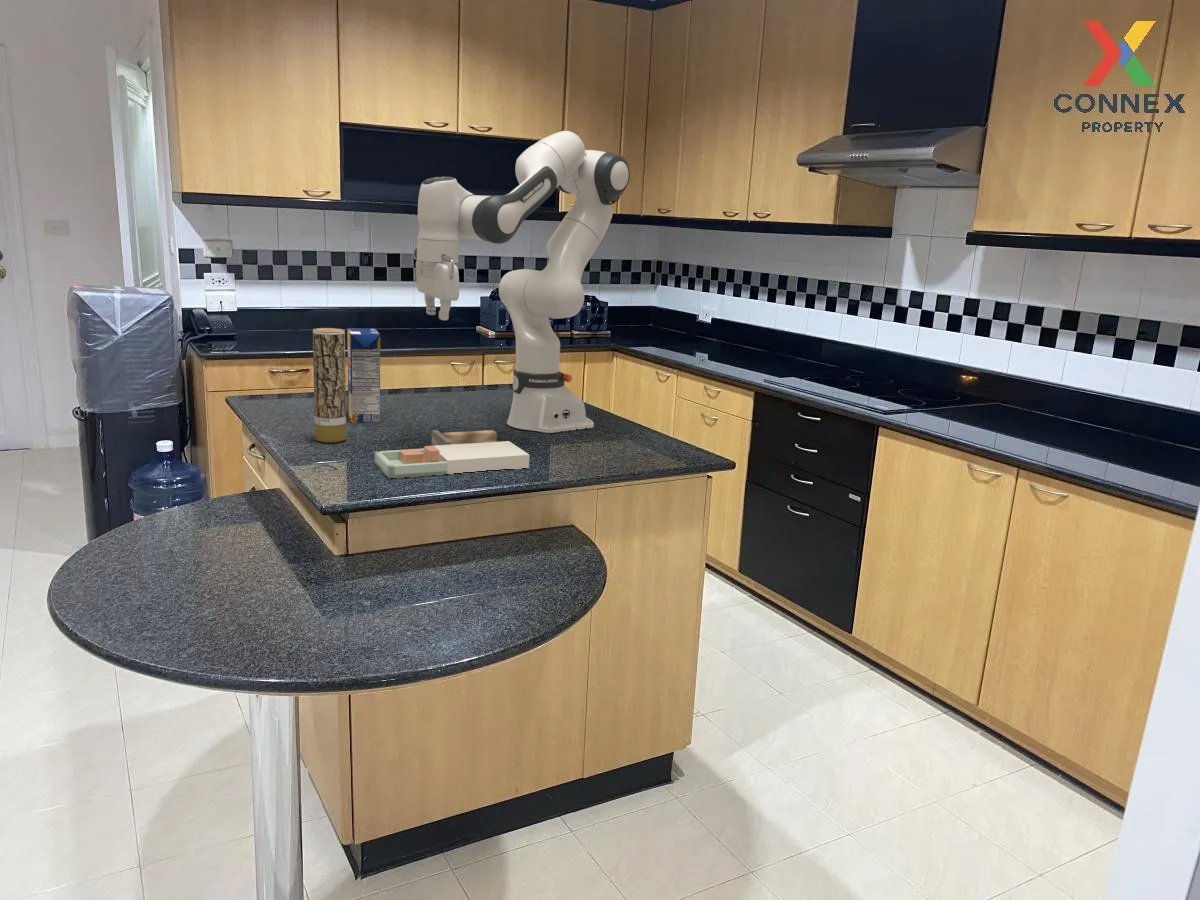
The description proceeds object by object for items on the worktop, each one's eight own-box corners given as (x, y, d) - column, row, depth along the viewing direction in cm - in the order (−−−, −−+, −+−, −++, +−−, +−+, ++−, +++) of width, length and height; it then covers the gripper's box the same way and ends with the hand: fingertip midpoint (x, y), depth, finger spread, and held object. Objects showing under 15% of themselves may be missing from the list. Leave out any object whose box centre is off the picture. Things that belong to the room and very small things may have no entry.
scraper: (486, 442, 209) (486, 425, 208) (503, 454, 200) (503, 437, 199) (431, 445, 203) (431, 428, 202) (446, 458, 194) (446, 440, 193)
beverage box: (351, 423, 218) (350, 334, 213) (348, 413, 228) (347, 328, 223) (380, 423, 221) (380, 334, 215) (375, 413, 231) (375, 328, 225)
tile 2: (433, 445, 184) (424, 446, 183) (439, 450, 181) (429, 451, 180) (433, 464, 185) (424, 464, 184) (439, 469, 182) (429, 470, 181)
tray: (430, 459, 192) (430, 448, 191) (447, 474, 181) (447, 462, 181) (374, 463, 186) (374, 451, 186) (388, 479, 176) (388, 466, 175)
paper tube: (337, 445, 198) (335, 333, 192) (309, 441, 199) (306, 330, 193) (351, 438, 204) (350, 329, 198) (324, 435, 206) (322, 327, 199)
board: (508, 454, 200) (508, 441, 199) (528, 468, 190) (529, 454, 189) (430, 459, 192) (430, 445, 191) (447, 474, 181) (447, 460, 181)
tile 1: (399, 450, 187) (399, 459, 187) (404, 455, 183) (404, 464, 184) (418, 449, 188) (418, 458, 189) (423, 453, 185) (423, 463, 185)
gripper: (467, 257, 187) (465, 323, 190) (438, 251, 204) (437, 311, 208) (438, 256, 184) (437, 323, 187) (411, 250, 201) (410, 311, 205)
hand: (437, 317), depth 198 cm, fingers open, 8 cm apart
